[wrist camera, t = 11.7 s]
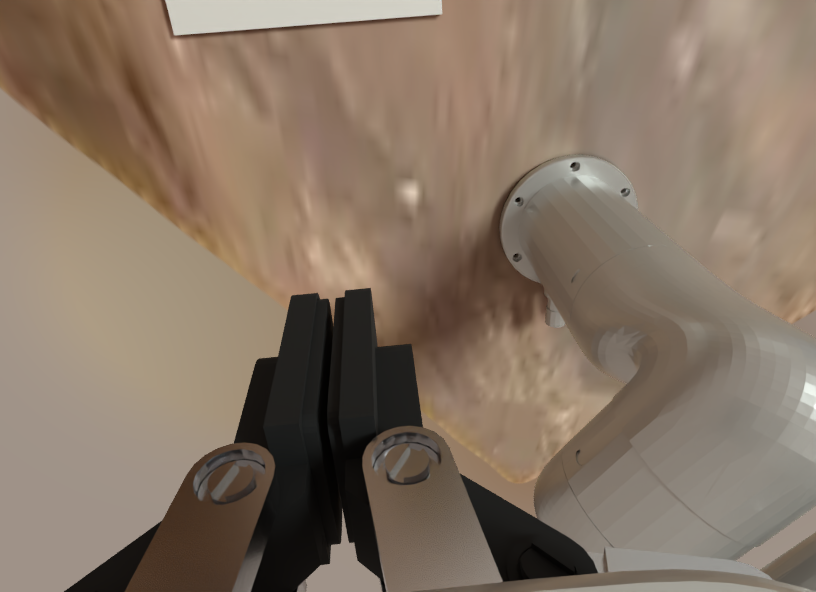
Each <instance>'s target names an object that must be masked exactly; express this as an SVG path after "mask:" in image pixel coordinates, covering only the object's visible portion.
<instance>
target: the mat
mask: <svg viewBox="0 0 816 592" xmlns="http://www.w3.org/2000/svg"><path fill="white" fill-rule="evenodd" d="M165 1H166V5H167V9H168V12H169V16H170V20H171V24H172V28H173V32H174V35H186V34H199V33H212V32H224V31H237V30H249V29H262V28H275V27H287V26H300V25H312V24H325V23H338V22H350V21H363V20H375V19H388V18H401V17H413V16H426V15H439V14H442V0H165Z"/></svg>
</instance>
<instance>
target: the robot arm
mask: <svg viewBox="0 0 816 592" xmlns="http://www.w3.org/2000/svg"><path fill="white" fill-rule="evenodd" d="M573 162H574V165H573V166H571V164H572V163H573ZM623 188H624V189H623ZM622 189H623V190H622ZM621 190H622V191H621ZM518 197H520V198H519V200H518V201H515V199H516V198H518ZM499 230H500V240H501V244H502V247H503V250H504V252H505V254H506V256H507V258H508V260H509V261H510V263H511V264H512V265H513V267H514V268H515V269H516V270H517V271H518V272H519V273H521V274H522V275H523V276H525V277H527V278H528V279H530V280H532V281H535V282H538V283H541V284H542V285H543V287H544V295H545V296H546V297H547V298H548V304H547V306H546V316H545V323H546V324H547V325H548V326H550V327H554V328H557V327H562V326H564V325H565V324H566V325H567V327H568V329H569V330H570V332H571V334H572V335H573V337H574V339H575V340H576V342H577V344H578V345H579V347H580V349H581V350H582V352H583V353H584V355H585V356H586V357H587V359H588V360H589V361H590V362H591V363H592V364H593V365H594V366H595V367H596V368H597V369H599V370H600V371H602V372H603V373H605V374H606V375H608V376H610V377H612V378H614V379H616V380H618V381H620V382H623V383H626V385H625V386H624V387H623V388H622V389H621V390H620V391H619V392H618V393H617V394H616V395H615V396H614V397H613V399H612V401H611V402H610V403H609V404H608V405H607V406H605V407H604V408H603V409H602V410H601V411H600V412H599V413H598V414H597V415H596V416H595V417H594V418H593V419H592V420H591V421H590V422H589V423H588V424H587V425H586V426H585V427H584V428H582V429H581V430H580V431H579V432H578V433H577V434H576V435H575V436H574V437H573V438H572V439H571V440H570V441H569V442H568V443H567V444H566V445H565V446H564V447H563V448H562V449H561V450H560V451H559V452H558V453H557V454H556V455H555V456H554V457H553V458H552V459H551V460H550V461H549V462H548V463H547V465H546V466H545V467H544V469H543V470H542V472H541V473H540V475H539V477H538V479H537V482H536V485H535V489H534V507H535V512H536V516H537V518H535V517H533V516H532V515H530V514H528V513H526V512H525V511H523V510H521V509H520V508H518V507H516V506H514V505H513V504H511V503H509V502H508V501H506V500H504V499H502V498H501V497H499V496H497V495H496V494H494V493H492V492H491V491H489V490H487V489H485V488H484V487H482V486H480V485H479V484H477V483H475V482H473V481H472V480H470V479H468V478H467V477H465V476H463V475H462V474H460V473H459V471H458V468H457V466H456V463H455V461H454V458H453V456H452V453H451V451H450V448H449V447H448V445H447V443H446V442H445V440H444V439H443V438H442V437H441V436H439V435H438V434H437V433H435V432H434V431H431V430H429V429H426V428H423V425H422V418H421V410H420V403H419V396H418V388H417V381H416V374H415V367H414V359H413V352H412V345H411V344H405V345H395V346H384V347H378V346H377V338H376V329H375V320H374V312H373V303H372V294H371V288H366V289H356V290H346V291H345V297H342V298H336V301H335V314H334V327H333V321H332V315H331V308H330V303H329V299H320V298H319V295H318V293H313V294H303V295H293V296H291V300H290V304H289V309H288V313H287V319H286V323H285V327H284V332H283V337H282V342H281V346H280V351H279V355H278V357H271V358H262V359H258V360H257V361H256V364H255V367H254V371H253V375H252V378H251V382H250V385H249V389H248V393H247V397H246V400H245V404H244V408H243V411H242V415H241V419H240V422H239V427H238V430H237V433H236V437H235V441H234V444H230V445H226V446H223V447H220V448H218V449H215V450H214V451H212V452H210V453H208V454H207V455H205V456H204V457H202V458H201V459H200V460H199V461H198V462H197V463H195V464H194V466H193V467H192V468H191V470H190V471H189V472H188V474H187V476H186V477H185V479H184V481H183V483H182V485H181V487H180V489H179V491H178V492H177V494H176V496H175V498H174V500H173V502H172V503H171V505H170V507H169V509H168V511H167V513H166V515H165V517H164V519H163V520H162V521H161V522H160V523H158V524H157V525H155V526H154V527H153V528H151V529H150V530H148V531H147V532H146V533H144V534H143V535H142V536H140V537H139V538H138V539H136V540H135V541H133V542H132V543H131V544H129V545H128V546H127V547H125V548H124V549H122V550H121V551H119V552H118V553H117V554H115V555H114V556H113V557H111V558H110V559H108V560H107V561H106V562H105V563H103V564H102V565H100V566H99V567H97V568H96V569H95V570H93V571H92V572H91V573H89V574H88V575H86V576H85V577H84V578H82V579H81V580H80V581H78V582H77V583H76V584H74V585H73V586H71V587H70V588H69V589H67V590H66V591H64V592H306V588H307V584H306V580H305V579H306V578H307V577H308V576H309V575H310V574H312V573H313V572H314V571H315V570H316V569H317V568H318V567H319V566H320V565H324V564H330V550H331V545H333V544H340V543H341V533H342V508H343V513H344V518H345V523H346V529H347V534H348V540H349V543H353V542H354V543H355V548H356V554H357V559H358V561H359V562H360V563H361V564H363V565H364V566H365V567H366V568H368V569H369V570H370V571H371V572H373V573H374V574H375V575H377V576H378V577H379V578H380V585H381V591H382V592H816V532H815V533H814V534H812V535H811V536H809V537H808V538H806V539H805V540H803V541H802V542H800V543H799V544H797V545H796V546H794V547H793V548H791V549H790V550H788V551H787V552H786V553H784V554H783V555H781V556H780V557H778V558H777V559H775V560H774V561H772V562H771V563H769V564H768V565H766V566H765V567H763V568H762V569H761V570H758V569H756V568H755V567H752V566H751V565H749V564H745V563H741V562H737V561H736V560H737V559H739V558H740V557H742V556H743V555H744V554H746V553H747V552H748V551H750V550H751V549H753V548H754V547H758V546H760V545H761V544H763V543H764V542H766V541H767V540H769V539H770V538H771V537H773V536H774V535H776V534H777V533H778V532H780V531H781V530H783V529H784V528H786V527H787V526H788V525H790V524H791V523H792V522H794V521H795V520H797V519H798V518H800V517H801V516H802V515H804V514H805V513H807V512H808V511H809V510H811V509H812V508H813V507H815V506H816V338H815V337H813V336H812V335H810V334H809V333H807V332H805V331H803V330H801V329H800V328H798V327H796V326H794V325H792V324H791V323H789V322H787V321H785V320H783V319H781V318H780V317H778V316H776V315H774V314H772V313H771V312H769V311H767V310H765V309H764V308H762V307H760V306H758V305H757V304H755V303H753V302H752V301H750V300H749V299H747V298H746V297H744V296H742V295H741V294H739V293H738V292H736V291H735V290H734V289H732V288H731V287H730V286H728V285H727V284H726V283H724V282H723V281H722V280H721V279H719V278H718V277H717V276H715V275H714V274H713V273H711V272H710V271H709V270H708V269H707V268H705V267H704V266H703V265H702V264H701V263H699V262H698V261H697V260H696V259H695V258H693V257H692V256H691V255H690V254H689V253H687V252H686V251H685V250H684V249H683V248H682V247H680V246H679V245H678V244H677V243H676V242H675V241H673V240H672V239H671V238H670V237H669V236H668V235H666V234H665V233H664V232H663V231H662V230H660V229H659V228H658V227H657V226H656V225H655V224H653V223H652V222H651V221H650V220H649V219H648V218H646V217H645V216H644V215H643V214H642V213H640V212H639V211H638V203H637V197H636V194H635V191H634V189H633V186H632V184H631V183H630V181H629V180H628V178H627V177H626V176H625V174H624V173H622V172H621V171H620V170H619V169H618V168H617V167H615V166H614V165H612V164H611V163H609V162H608V161H606V160H603V159H601V158H598V157H595V156H589V155H583V154H582V155H567V156H563V157H558V158H555V159H552V160H550V161H547V162H545V163H543V164H541V165H539V166H538V167H536V168H535V169H533V170H532V171H530V172H529V173H528V174H527V175H526V176H525V177H524V178H522V179H521V180H520V181H519V183H518V184H517V185H516V186H515V188H514V189H513V190H512V191H511V193H510V195H509V197H508V199H507V201H506V202H505V205H504V208H503V211H502V214H501V219H500V227H499ZM515 254H517V255H515ZM514 255H515V256H514Z"/></svg>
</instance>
